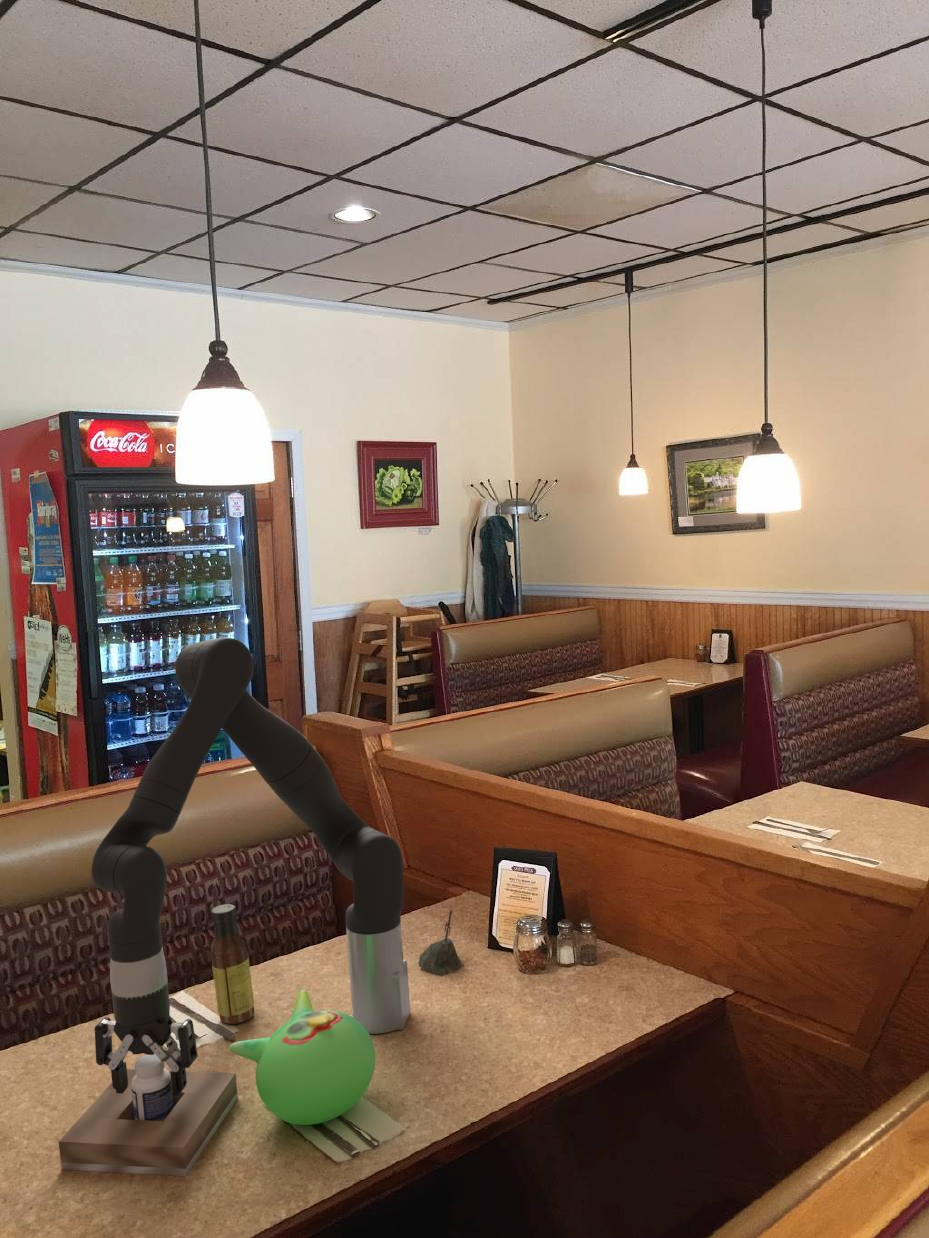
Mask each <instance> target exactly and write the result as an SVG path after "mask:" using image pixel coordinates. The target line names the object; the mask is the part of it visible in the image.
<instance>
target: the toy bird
mask: <svg viewBox="0 0 929 1238" xmlns="http://www.w3.org/2000/svg"><path fill="white" fill-rule="evenodd" d="M229 1051H230V1052H231V1053H234V1054H235V1055H237V1056H240V1057H243V1058H246V1059H247V1060H250V1061H253V1062H255V1063H256V1069H255V1085H256V1089H257V1093H258V1095H259V1097H260V1099H261V1101H262V1103H263V1105H265V1107H266V1108H267V1110H269V1112H271V1114H273V1115H274V1116H275V1117H277V1118H278V1119H280V1120H282V1121H284V1122H286V1123H289V1124H293V1125H297V1126H298V1125H299V1126H311V1125H318V1124H322V1123H326V1122H328V1121H331V1120H333V1119H335V1118H337V1117H340V1116H341V1115H343V1114H344V1113H346V1112H348V1111H349V1110H350V1109H351V1108H353V1107H354V1106H355V1105H356V1104H357V1103H358V1102H359V1100H360V1099H362V1097H363V1096H364V1095H365V1093H366V1091H367V1090H368V1087H369V1086H370V1084H371V1081H372V1079H373V1076H374V1073H375V1067H376V1066H375V1065H376V1050H375V1044H374V1041H373V1039H372V1037H371V1034H370V1033H368V1031H367V1030H366V1029H365V1027H364V1026H363V1025H362V1024H361V1023H360V1022H359V1021H357V1020H356V1019H355V1018H353V1016H351V1015H349V1014H347V1013H344V1012H341V1011H339V1010H337V1011H336V1010H330V1009H329V1010H325V1009H324V1010H316V1011H315V1010H314V1008H313V1004H312V1002H311V999H310V995H309V992H308V991H307V989H301V990H300V991H299V992H298V994H297V996H296V999H295V1002H294V1007H293V1010H292V1013H291V1018H290V1020H289V1021H287V1022H285V1023H284V1024H283V1025H281V1026H280V1027H279V1028H277V1030H276V1031H275V1032H274V1033H273V1034H272V1035H271V1036H268V1037H262V1038H253V1039H246V1040H240V1041H239V1040H238V1041H235V1042H232V1043H231V1045H230V1046H229Z"/></svg>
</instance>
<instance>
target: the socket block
mask: <svg viewBox="0 0 929 1238" xmlns="http://www.w3.org/2000/svg"><path fill="white" fill-rule="evenodd" d="M168 1071H169V1073H170V1072H171V1071H172V1070H168ZM135 1075H136V1073H135V1068H134V1069H131V1068H127V1077H128V1087H127V1089H126V1090H125V1091H124V1092H123V1093H122V1094H117V1093H116V1089H114V1088H113V1086H112V1082H111V1083H110V1084H109V1085H108V1086H107V1087H106V1088H105V1089H104V1090H103V1091H102V1093H100V1095H99V1096H98V1097H97V1098H96V1100H95V1101H94V1102H93V1103H92V1104H91V1105H90V1106H89V1107H88V1109H86V1111H84V1113H83V1114H82V1115H81V1116H80V1117H79V1118H78V1120H77V1121H76V1122H75V1123H74V1124H73V1125H72V1126H71V1127H70V1128H69V1129H68V1131H66V1133H65V1134H64V1135H63V1136H62V1137H61V1138H60V1139H59V1140H58V1148H59V1149H58V1150H59V1158H60V1167H61V1170H65V1171H85V1172H87V1171H89V1172H104V1173H106V1172H107V1173H120V1174H121V1173H125V1174H137V1175H138V1174H140V1175H141V1174H142V1175H158V1176H159V1175H160V1176H179V1177H187V1176H188V1175H189V1173H190V1171H191V1170H192V1168H193V1167H194V1165H195V1163H196V1162H197V1160H198V1159H199V1158H200V1156H201V1155H202V1153H203V1151H204V1150H205V1148H206V1147H207V1145H209V1142H210V1141H211V1139H212V1138H213V1137H214V1135H215V1134H216V1132H217V1130H218V1129H219V1128H220V1126H221V1124H222V1123H223V1121H224V1120H225V1119H226V1117H227V1115H228V1114H229V1112H230V1111H231V1110H232V1108H233V1106H234V1105H235V1103H236V1102H237V1101H238V1099H239V1098H238V1097H239V1096H238V1094H239V1093H238V1084H237V1074H236V1072H216V1071H190V1070H188V1071H186V1080H187V1084H186V1086H185V1088H184V1089H183V1090H182V1092H181V1093H180V1094H179V1096H173V1094H172V1096H173V1106H174V1108H173V1109H172V1111H171V1112H170V1113H169V1115H168V1116H167V1117H166V1118H165V1120H164V1121H145V1120H135V1118H134V1108H133V1098H132V1089H131V1082H132V1079H133V1077H134V1076H135ZM170 1076H171V1074H170ZM171 1086H172V1084H171Z"/></svg>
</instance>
